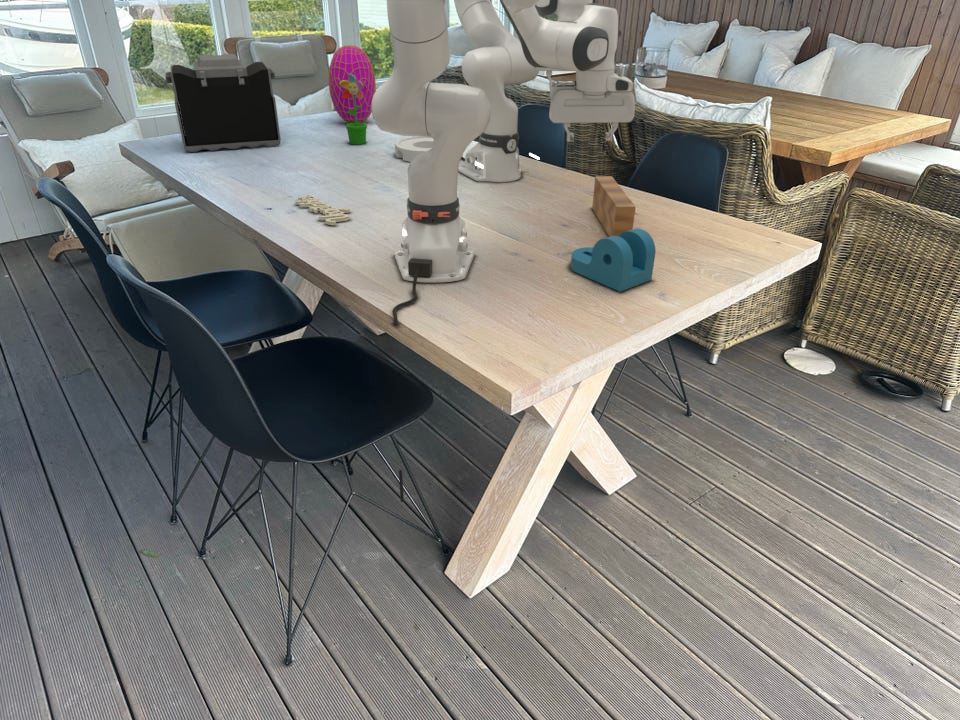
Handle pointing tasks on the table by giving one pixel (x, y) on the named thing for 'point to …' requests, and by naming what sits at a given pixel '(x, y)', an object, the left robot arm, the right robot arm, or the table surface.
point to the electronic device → (225, 104)
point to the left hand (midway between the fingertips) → (589, 140)
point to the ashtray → (412, 147)
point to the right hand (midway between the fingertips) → (569, 88)
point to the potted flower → (354, 129)
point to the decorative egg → (340, 66)
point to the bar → (612, 206)
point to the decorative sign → (323, 209)
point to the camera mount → (617, 260)
